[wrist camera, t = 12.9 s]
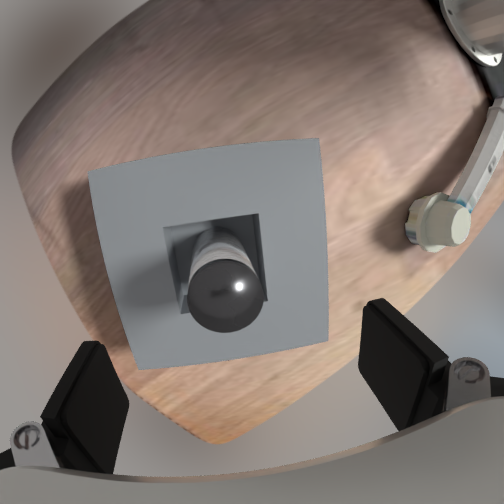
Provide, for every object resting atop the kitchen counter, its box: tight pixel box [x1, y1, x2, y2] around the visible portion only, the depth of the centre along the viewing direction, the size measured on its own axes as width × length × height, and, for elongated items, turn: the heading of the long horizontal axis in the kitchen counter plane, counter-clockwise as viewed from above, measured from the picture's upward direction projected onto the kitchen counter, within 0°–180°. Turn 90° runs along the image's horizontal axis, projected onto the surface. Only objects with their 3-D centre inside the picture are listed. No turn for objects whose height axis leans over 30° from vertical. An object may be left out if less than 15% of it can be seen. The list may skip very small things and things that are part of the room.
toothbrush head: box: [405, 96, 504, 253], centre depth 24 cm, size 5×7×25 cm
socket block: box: [88, 138, 329, 370], centre depth 23 cm, size 16×16×5 cm
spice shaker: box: [187, 227, 264, 333], centre depth 20 cm, size 4×4×9 cm
